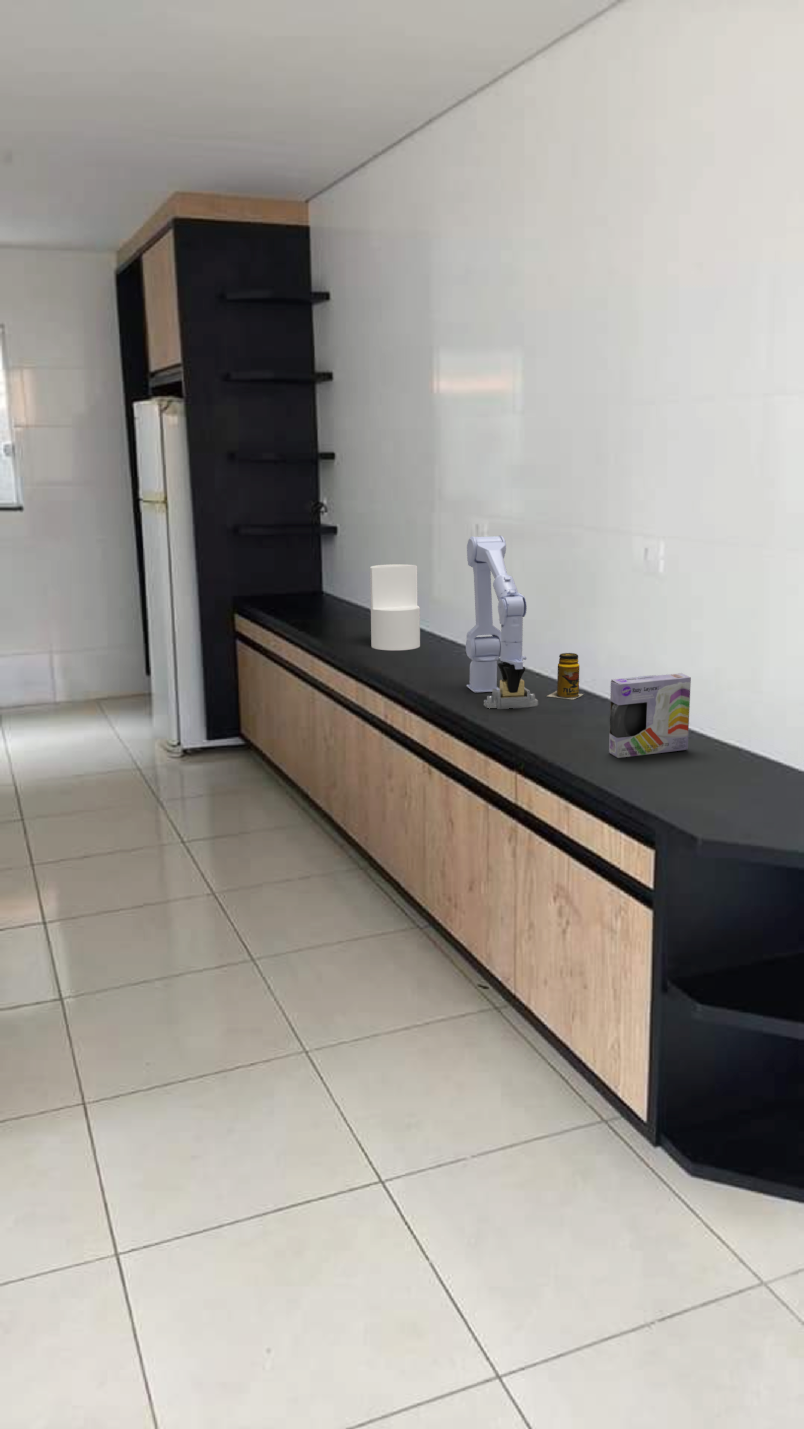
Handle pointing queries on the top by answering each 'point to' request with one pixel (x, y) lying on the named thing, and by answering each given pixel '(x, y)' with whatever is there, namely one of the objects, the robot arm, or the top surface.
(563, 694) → the condiment
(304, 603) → the top surface
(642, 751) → the cake pan box
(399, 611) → the cylinder
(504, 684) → the tan block
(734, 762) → the top surface
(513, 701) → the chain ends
